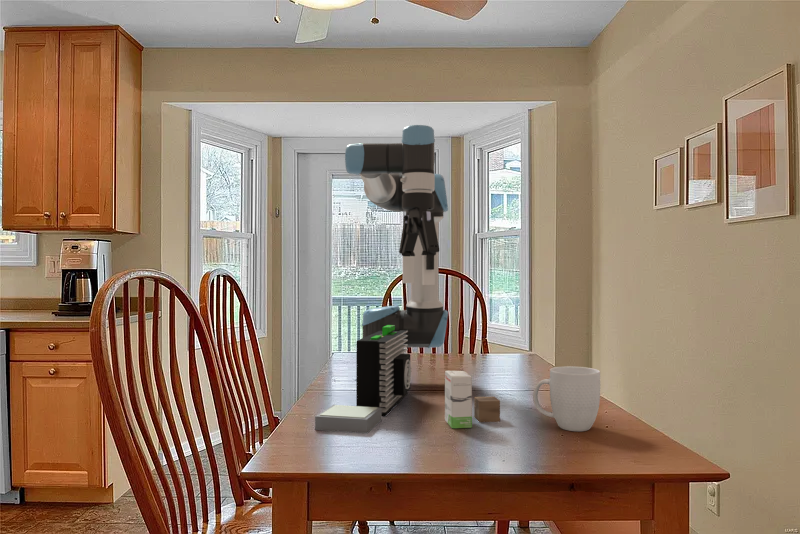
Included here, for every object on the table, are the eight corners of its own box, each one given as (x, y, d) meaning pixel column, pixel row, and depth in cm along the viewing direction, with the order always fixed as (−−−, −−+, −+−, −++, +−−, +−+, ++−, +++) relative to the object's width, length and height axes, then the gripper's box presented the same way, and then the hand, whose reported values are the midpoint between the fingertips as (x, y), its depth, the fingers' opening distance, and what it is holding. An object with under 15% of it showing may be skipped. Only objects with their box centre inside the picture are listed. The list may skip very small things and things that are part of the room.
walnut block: (474, 417, 157) (474, 396, 157) (494, 417, 158) (494, 396, 158) (479, 422, 152) (479, 401, 152) (500, 422, 153) (500, 400, 153)
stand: (333, 417, 157) (333, 404, 157) (381, 420, 154) (381, 406, 154) (315, 429, 145) (315, 415, 145) (366, 433, 142) (366, 418, 142)
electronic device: (397, 417, 157) (397, 334, 157) (354, 415, 159) (354, 333, 159) (417, 394, 185) (418, 323, 185) (380, 392, 187) (380, 323, 187)
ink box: (472, 428, 147) (472, 376, 147) (451, 429, 146) (451, 376, 146) (464, 419, 155) (464, 369, 155) (443, 419, 155) (444, 370, 154)
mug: (527, 429, 146) (527, 370, 146) (538, 418, 156) (538, 363, 156) (596, 436, 140) (596, 375, 140) (603, 424, 150) (603, 368, 150)
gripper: (386, 197, 163) (386, 282, 163) (421, 186, 139) (421, 285, 139) (414, 198, 165) (414, 282, 165) (454, 187, 142) (454, 285, 142)
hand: (418, 284), depth 152 cm, fingers open, 13 cm apart
